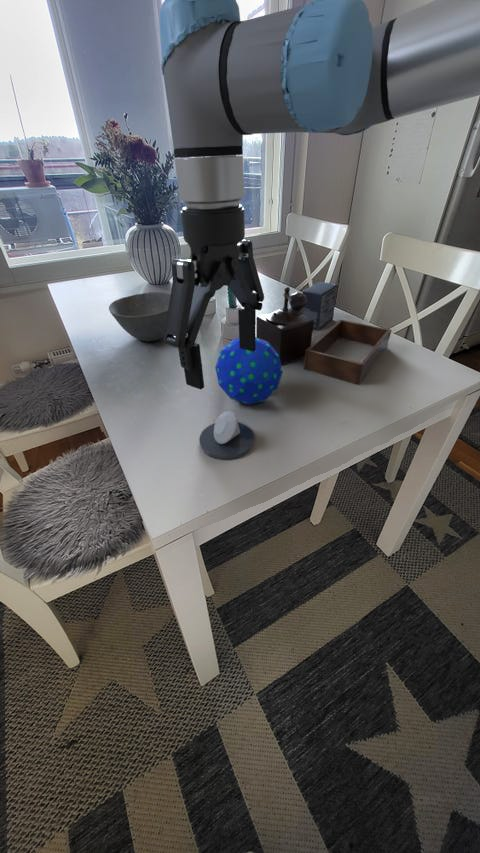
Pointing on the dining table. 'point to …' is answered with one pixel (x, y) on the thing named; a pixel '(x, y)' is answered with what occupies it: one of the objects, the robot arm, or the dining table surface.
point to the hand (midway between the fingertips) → (223, 366)
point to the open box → (341, 366)
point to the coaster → (231, 448)
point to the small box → (320, 303)
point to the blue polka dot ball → (248, 371)
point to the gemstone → (226, 427)
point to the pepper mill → (287, 328)
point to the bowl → (142, 314)
